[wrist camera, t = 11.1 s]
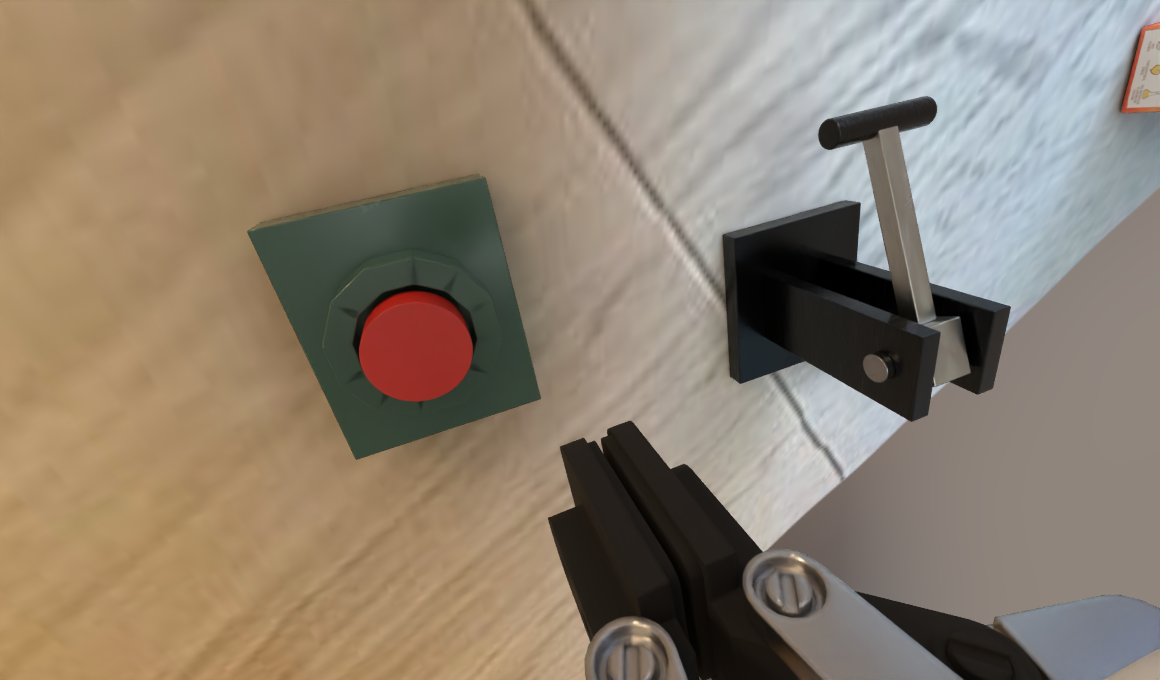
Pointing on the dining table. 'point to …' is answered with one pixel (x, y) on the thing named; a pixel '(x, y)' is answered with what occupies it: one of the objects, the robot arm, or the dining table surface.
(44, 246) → the dining table surface
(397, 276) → the button box
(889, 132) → the switch lever
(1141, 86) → the cracker box
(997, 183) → the dining table surface
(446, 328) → the red button
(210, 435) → the dining table surface
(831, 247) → the switch bracket
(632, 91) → the dining table surface
